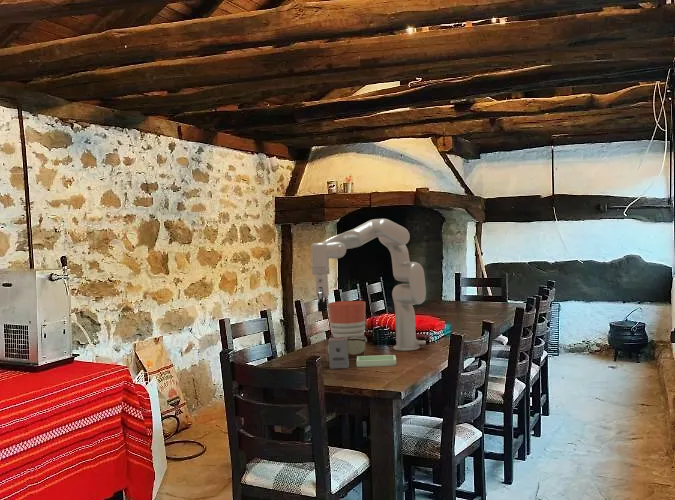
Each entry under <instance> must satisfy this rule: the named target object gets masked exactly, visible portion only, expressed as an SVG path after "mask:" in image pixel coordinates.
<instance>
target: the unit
mask: <svg viewBox="0 0 675 500" xmlns="http://www.w3.org/2000/svg"><path fill="white" fill-rule="evenodd" d="M327 345H328V353H329V362H328V363H329V369H330V370H331V369H335V370H336V369H349V366H350V359H349V352H348V337H334V336H333V337H329V339H328V343H327Z"/></svg>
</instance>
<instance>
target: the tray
mask: <svg viewBox="0 0 675 500" xmlns="http://www.w3.org/2000/svg"><path fill="white" fill-rule="evenodd" d="M355 364H356V367H357V368H364V367H365V368H368V367H369V368H370V367H395V366H397V356H396V354H382V355H381V354H380V355H379V354H378V355H365V356H357V360H356V363H355Z"/></svg>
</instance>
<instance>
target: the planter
mask: <svg viewBox="0 0 675 500" xmlns="http://www.w3.org/2000/svg"><path fill="white" fill-rule="evenodd" d="M327 307H328V314H329V324H330V325H329V326H330V331H331V333H332V336H333V337H345V336H364V334H365V331H366V301H363V300H342V301H341V300H340V301H339V300H338V301H334V302H332V301H331V302H328V303H327Z"/></svg>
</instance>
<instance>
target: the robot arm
mask: <svg viewBox="0 0 675 500" xmlns="http://www.w3.org/2000/svg"><path fill="white" fill-rule="evenodd" d="M410 235H411V234H410V231H408V229H407V228H406V227H404V226H402V225H400V224H398V223H397V222H394V221H392V220H390V219H388V218H374V219H370V220H368V221H366V222H364V223H362V224H360V225H358V226H356V227H355V228H354V227H353V228H352V229H350V230H347V231H344V232H342V233H339V234H337V235H334V236H332V237H330V238H328V239H325V240H324V241H322V242H314V243H311V247H310V249H311V250H310V253H311V271H312V273H311V275H312V276H314V277H315V278H314V281H315V283H314V285H315V293H316V294H315V296H316V297H317V312H318V313H323V312H326V309H328V303H327V302H328V300H327V298H328V297H329V295H330V291H329V279H328V275H330V259H341V258H343V257H344V256H345V255H346V254H347V250H348V249H354V248H355V249H356V248H359V247H362V246H363V245H364V244H366V243H368V242H370V241H372V240H374V239H376V238H378V240H379V242H380V243H381V244H382V245H383V246H385V247H386V248H387V249H388V251H389V253H390V257H391V264H392V265H391V266H392V275H393V277H394V280H395V281H398V282H408V283H400V284H399V283H398V284H397V285H395V286H394V287H393V289H392V292H391V296H392V300H393V304H394V305H393V306H394V312H395V313H394V319H395V320H394V321H395V335H396V336H395V339H396V340H395V341H396V344H395V345H394V346H393V349H394V350H395V351H400V352H401V351H405V352H408V351H416V350H419V349H420V345H422V346H423V345H426V340H421V339H420V340H418V339H417V337H416V334H417V333H416V314H415V313H416V312H415V308H414V305H421V304H423V303H424V302H425V301H426V296H427V288H426V287H427V286H426V279H425V272H424V268H423V266H422V265H421V263H418V262H417V261H411V259H410V254H409V253H410V252H409V249H408V247H407V244H408V243H409V241H410V239H411V236H410Z"/></svg>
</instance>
